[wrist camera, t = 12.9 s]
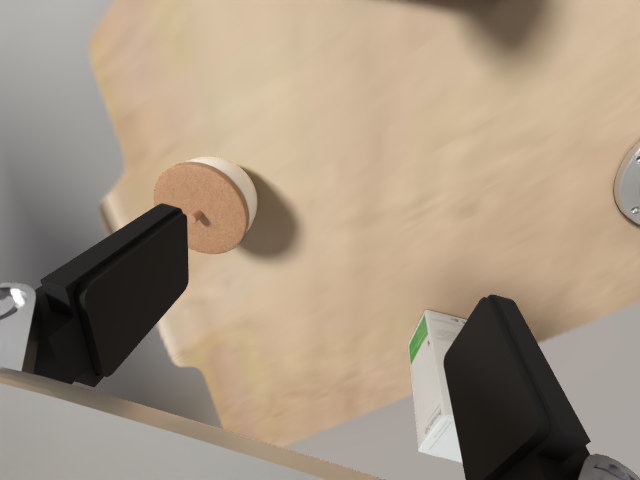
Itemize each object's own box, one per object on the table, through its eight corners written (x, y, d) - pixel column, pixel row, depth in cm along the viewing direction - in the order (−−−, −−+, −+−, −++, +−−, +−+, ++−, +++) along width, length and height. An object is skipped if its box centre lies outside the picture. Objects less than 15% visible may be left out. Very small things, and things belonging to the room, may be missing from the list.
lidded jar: (201, 223, 44) (160, 259, 36) (180, 146, 39) (128, 168, 31) (273, 226, 42) (248, 265, 34) (263, 145, 37) (229, 169, 29)
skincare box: (425, 307, 44) (443, 412, 31) (471, 319, 44) (510, 431, 31) (406, 345, 49) (415, 453, 35) (448, 357, 48) (472, 469, 35)
